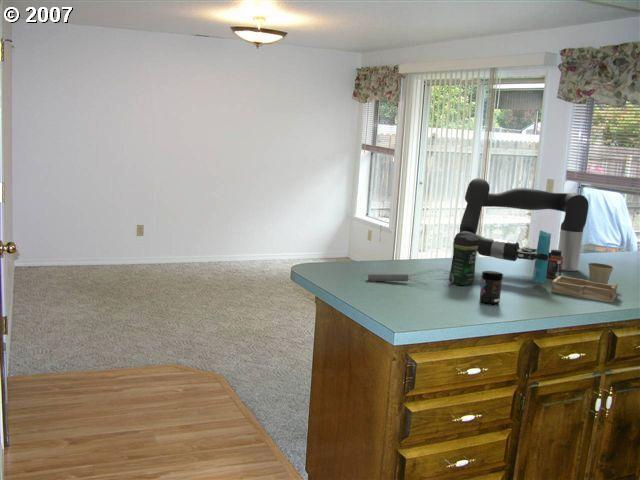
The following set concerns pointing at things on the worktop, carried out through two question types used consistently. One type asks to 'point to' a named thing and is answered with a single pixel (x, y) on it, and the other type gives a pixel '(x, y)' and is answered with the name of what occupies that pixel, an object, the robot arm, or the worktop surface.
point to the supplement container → (491, 287)
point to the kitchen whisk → (400, 277)
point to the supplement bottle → (554, 264)
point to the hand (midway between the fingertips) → (549, 256)
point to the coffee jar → (464, 259)
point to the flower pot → (599, 272)
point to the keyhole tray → (584, 289)
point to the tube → (541, 265)
